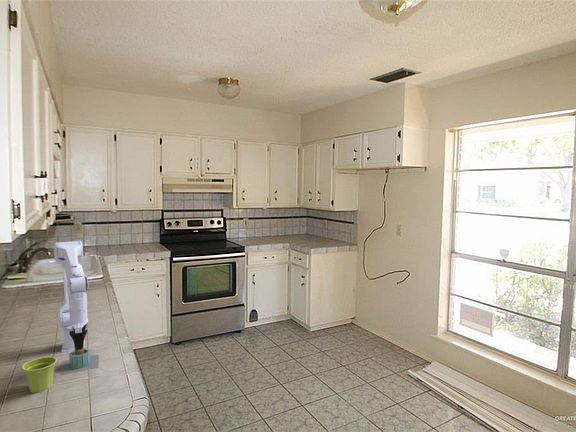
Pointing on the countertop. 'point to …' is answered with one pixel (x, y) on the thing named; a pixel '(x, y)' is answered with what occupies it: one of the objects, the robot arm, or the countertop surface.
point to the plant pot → (40, 373)
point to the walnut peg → (79, 351)
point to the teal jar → (80, 359)
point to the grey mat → (68, 370)
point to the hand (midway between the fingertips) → (79, 345)
